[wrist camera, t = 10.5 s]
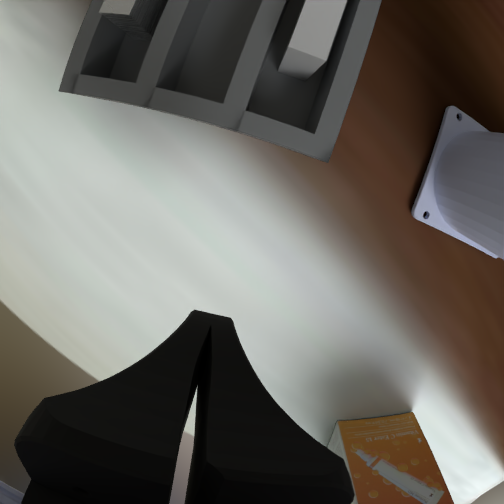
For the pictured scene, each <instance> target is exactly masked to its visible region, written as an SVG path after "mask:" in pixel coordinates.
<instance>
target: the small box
mask: <svg viewBox="0 0 504 504" xmlns="http://www.w3.org/2000/svg"><path fill="white" fill-rule="evenodd" d="M327 448H328V449H329V450H331V451H332V452H334V453H335V454H337V455H338V456H340V457H341V458H343V459H344V461H345V464H346V467H347V469H348V472H349V474H350V478H351V481H352V485H353V489H354V493H355V496H354V500H353V502H352V503H351V504H454V502H453V500H452V497H451V495H450V493H449V490H448V488H447V485H446V483H445V481H444V478H443V476H442V474H441V471H440V469H439V467H438V465H437V462H436V460H435V458H434V455H433V453H432V451H431V449H430V447H429V444H428V442H427V440H426V438H425V436H424V434H423V432H422V430H421V428H420V426H419V423H418V421H417V419H416V417H415V415H414V413H413V412H410V413H405V414H400V415H394V416H386V417H378V418H370V419H359V420H348V421H345V420H341V421H337V422H336V425H335V428H334V431H333V434H332V436H331V439H330V442H329V444H328V447H327Z"/></svg>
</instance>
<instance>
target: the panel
mask: <svg viewBox="0 0 504 504" xmlns="http://www.w3.org/2000/svg"><path fill="white" fill-rule="evenodd" d="M167 2H168V0H104V2H103V4H102V6H101V9H100V11H99V13H100V14H102V15H103V16H104V17H106V18H107V19H108V20H110V21H111V22H112V23H114V24H115V25H116V26H118V27H119V28H120V29H122V30H123V31H124V32H126V33H127V34H128V35H129V36H131V37H132V38H133V39H136V40H142V41H148V42H151V40H152V37H153V35H154V32H155V30H156V27H157V25H158V23H159V20H160V18H161V16H162V13H163V11H164V9H165V7H166V4H167Z"/></svg>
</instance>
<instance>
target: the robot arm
mask: <svg viewBox="0 0 504 504" xmlns="http://www.w3.org/2000/svg"><path fill="white" fill-rule="evenodd" d="M457 114H458V115H459V120H458V119H457ZM425 211H426V212H427V215H426V216H425V217H424V218H423V213H424V212H425ZM411 212H412V216H413V217H414V218H415V219H417V220H419V221H422V222H424V223H426V224H428V225H430V226H432V227H434V228H437V229H439V230H441V231H443V232H445V233H447V234H449V235H451V236H453V237H455V238H457V239H459V240H461V241H463V242H465V243H467V244H469V245H471V246H473V247H475V248H477V249H479V250H481V251H483V252H485V253H486V254H488V255H490V256H492V257H494V258H498V257H500V258H502V259H503V260H504V133H497V132H490V131H488V130H487V129H486V128H484V127H483V126H482V125H480V124H479V123H478V122H476V121H475V120H474V119H472V118H471V117H469V116H468V115H467V114H465V113H464V112H462V111H461V110H459V109H458V108H457V107H455V106H448V107H447V108H446V110H445V113H444V117H443V120H442V124H441V127H440V130H439V134H438V137H437V140H436V143H435V146H434V149H433V152H432V155H431V158H430V161H429V164H428V167H427V170H426V173H425V176H424V178H423V181H422V184H421V187H420V189H419V192H418V195H417V197H416V200H415V202H414V205H413V208H412V211H411ZM197 385H198V388H197ZM196 388H197V402H196V418H195V436H194V447H193V453H192V459H191V466H190V473H189V478H188V485H187V491H186V498H185V504H351V503H352V502H353V500H354V496H355V493H354V489H353V485H352V481H351V478H350V474H349V472H348V469H347V467H346V464H345V461H344V459H343V458H341V457H340V456H338V455H337V454H335V453H334V452H332V451H331V450H329V449H328V448H326V447H325V446H324V445H322V444H321V443H319V442H318V441H316V440H315V439H314V438H313V437H311V436H310V435H309V434H308V433H307V432H305V431H304V430H303V429H302V428H301V427H300V426H299V425H297V424H296V423H295V422H294V421H293V420H292V419H291V418H290V417H289V416H288V415H287V414H286V413H285V411H284V410H283V409H282V408H281V407H280V406H279V405H278V404H277V403H276V402H275V400H274V399H273V398H272V397H271V395H270V394H269V393H268V391H267V390H266V389H265V387H264V386H263V384H262V383H261V381H260V380H259V378H258V376H257V375H256V373H255V371H254V370H253V368H252V366H251V364H250V362H249V360H248V358H247V356H246V354H245V352H244V350H243V348H242V346H241V343H240V341H239V338H238V336H237V333H236V330H235V327H234V323H233V320H232V319H231V318H229V317H224V316H220V315H215V314H211V313H207V312H202V311H198V310H194V311H192V312H191V313H190V314H189V316H188V317H187V318H186V320H185V321H184V322H183V323H182V324H181V325H180V326H179V328H178V329H177V330H176V331H175V332H174V333H172V334H171V335H170V336H169V337H168V338H167V339H166V340H165V341H164V342H163V343H162V344H160V345H159V346H158V347H157V348H156V349H154V350H153V351H152V352H151V353H149V354H148V355H147V356H145V357H144V358H142V359H141V360H139V361H138V362H136V363H135V364H133V365H132V366H130V367H128V368H126V369H124V370H123V371H121V372H119V373H117V374H115V375H113V376H111V377H109V378H107V379H105V380H103V381H100V382H98V383H95V384H93V385H90V386H88V387H85V388H82V389H79V390H75V391H72V392H68V393H64V394H60V395H56V396H52V397H47V398H44V399H43V400H42V401H41V403H40V404H39V405H38V406H37V407H36V408H35V409H34V411H33V412H32V413H31V414H30V416H29V417H28V419H27V420H26V422H25V424H24V425H23V427H22V429H21V430H20V432H19V434H18V436H17V437H16V439H15V444H14V446H15V449H16V451H17V454H18V457H19V458H20V460H21V462H22V464H23V466H24V467H25V469H26V471H27V472H28V474H29V476H30V477H31V482H30V484H29V486H28V488H27V490H26V493H25V494H23V493H21V492H19V491H18V490H16V489H14V488H12V487H10V486H9V485H7V484H5V483H4V482H2V481H0V504H169V501H170V496H171V490H172V485H173V479H174V473H175V468H176V462H177V456H178V451H179V445H180V442H181V438H182V434H183V431H184V427H185V424H186V421H187V418H188V414H189V411H190V408H191V405H192V401H193V398H194V395H195V392H196Z"/></svg>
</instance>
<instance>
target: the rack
mask: <svg viewBox="0 0 504 504" xmlns="http://www.w3.org/2000/svg"><path fill="white" fill-rule="evenodd" d="M103 2H104V0H92V2H91V4H90V7H89V9H88V11H87V13H86V16H85V18H84V20H83V23H82V25H81V28H80V30H79V33H78V35H77V38H76V40H75V43H74V46H73V49H72V51H71V54H70V57H69V60H68V63H67V66H66V69H65V72H64V75H63V78H62V82H61V85H60V88H59V91H60V92H66V93H72V94H78V95H83V96H88V97H93V98H99V99H104V100H110V101H115V102H120V103H125V104H130V105H134V106H139V107H144V108H148V109H152V110H157V111H161V112H165V113H169V114H173V115H177V116H181V117H185V118H189V119H193V120H196V121H200V122H204V123H207V124H211V125H214V126H218V127H221V128H225V129H228V130H231V131H235V132H238V133H241V134H244V135H248V136H251V137H254V138H257V139H260V140H263V141H266V142H269V143H272V144H275V145H278V146H281V147H284V148H287V149H289V150H292V151H295V152H298V153H301V154H303V155H306V156H309V157H312V158H315V159H318V160H321V161H324V162H327V163H328V162H329V159H330V156H331V153H332V151H333V148H334V145H335V142H336V139H337V136H338V134H339V131H340V128H341V125H342V122H343V119H344V116H345V113H346V110H347V108H348V105H349V102H350V99H351V96H352V93H353V90H354V87H355V84H356V81H357V78H358V75H359V71H360V68H361V65H362V62H363V59H364V56H365V53H366V50H367V47H368V43H369V40H370V37H371V34H372V30H373V27H374V24H375V21H376V17H377V14H378V11H379V7H380V4H381V0H168V2H167V4H166V7H165V9H164V11H163V13H162V16H161V18H160V20H159V23H158V25H157V27H156V30H155V32H154V35H153V37H152V40H151V42H148V41H142V40H136V39H133V38H132V37H131V36H129V35H128V34H127V33H126V32H124V31H123V30H122V29H120V28H119V27H118V26H116V25H115V24H114V23H112V22H111V21H110V20H108V19H107V18H106V17H104V16H103V15H102V14H100V13H99V11H100V9H101V6H102V4H103Z"/></svg>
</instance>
